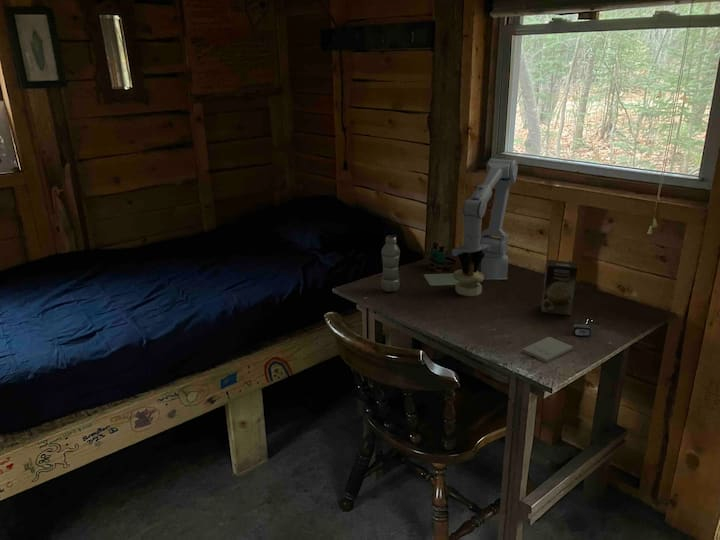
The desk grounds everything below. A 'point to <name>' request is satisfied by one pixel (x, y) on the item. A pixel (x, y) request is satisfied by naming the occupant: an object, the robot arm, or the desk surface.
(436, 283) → the mat
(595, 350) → the desk surface
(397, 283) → the plastic bottle
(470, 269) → the lid
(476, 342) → the desk surface
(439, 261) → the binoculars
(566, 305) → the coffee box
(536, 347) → the external hard drive
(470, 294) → the bowl
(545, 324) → the desk surface
